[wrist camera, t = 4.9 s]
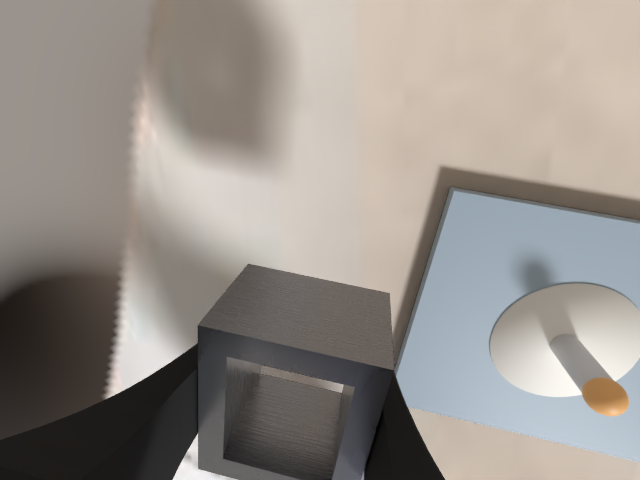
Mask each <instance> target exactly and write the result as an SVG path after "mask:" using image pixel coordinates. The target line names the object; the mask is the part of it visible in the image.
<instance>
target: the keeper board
mask: <svg viewBox="0 0 640 480" xmlns="http://www.w3.org/2000/svg"><path fill="white" fill-rule="evenodd" d="M394 372H395V375H396V378H397V381H398V384H399V387H400V389H401V392H402V395H403V397H404V400H405V402H406V405H407V407H411V408H415V409H419V410H423V411H428V412H432V413H436V414H440V415H444V416H448V417H453V418H457V419H461V420H465V421H469V422H473V423H478V424H482V425H486V426H490V427H494V428H498V429H503V430H507V431H511V432H515V433H519V434H523V435H527V436H532V437H536V438H540V439H544V440H548V441H552V442H557V443H561V444H565V445H569V446H573V447H577V448H582V449H586V450H590V451H594V452H598V453H602V454H607V455H611V456H615V457H619V458H623V459H627V460H631V461H636V462H640V220H636V219H630V218H624V217H619V216H613V215H607V214H602V213H596V212H590V211H585V210H579V209H573V208H568V207H562V206H556V205H551V204H545V203H539V202H534V201H528V200H522V199H517V198H511V197H505V196H500V195H494V194H488V193H483V192H477V191H471V190H466V189H460V188H454V187H450V190H449V193H448V197H447V200H446V203H445V206H444V210H443V213H442V216H441V219H440V223H439V226H438V229H437V232H436V236H435V239H434V242H433V245H432V249H431V252H430V255H429V259H428V262H427V265H426V268H425V272H424V275H423V278H422V281H421V285H420V288H419V291H418V294H417V298H416V301H415V304H414V307H413V311H412V314H411V317H410V321H409V324H408V327H407V330H406V334H405V337H404V340H403V343H402V347H401V350H400V353H399V356H398V360H397V363H396V366H395V370H394Z"/></svg>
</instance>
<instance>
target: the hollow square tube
mask: <svg viewBox="0 0 640 480" xmlns="http://www.w3.org/2000/svg"><path fill="white" fill-rule="evenodd" d="M261 365H264V366H268V367H273V368H277V369H281V370H285V371H289V372H294V373H298V374H302V375H306V376H310V377H315V378H319V379H323V380H327V381H332V382H336V383H340V384H344V386H343V391H342V393H339V392H335V391H330V390H326V389H322V388H318V387H314V386H310V385H305V384H301V383H297V382H293V381H289V380H285V379H280V378H276V377H272V376H268V375H264V374H260V371H261ZM393 373H394V358H393V341H392V325H391V308H390V293H386V292H381V291H376V290H371V289H366V288H362V287H357V286H352V285H347V284H342V283H338V282H333V281H328V280H323V279H318V278H314V277H309V276H304V275H299V274H294V273H290V272H285V271H280V270H275V269H270V268H266V267H261V266H256V265H251V264H248V265H247V266H246V267H245V268H244V270H243V271H242V272H241V273H240V275H239V276H238V277H237V278H236V279H235V281H234V282H233V283H232V284H231V285H230V287H229V288H228V289H227V290H226V292H225V293H224V294H223V295H222V296H221V298H220V299H219V300H218V301H217V302H216V304H215V305H214V306H213V307H212V309H211V310H210V311H209V312H208V313H207V315H206V316H205V317H204V318H203V319H202V321H201V322H200V323H199V324H198V469H201V470H205V471H208V472H212V473H216V474H219V475H223V476H227V477H230V478H234V479H238V480H361V478H362V475H363V471H364V468H365V465H366V462H367V458H368V455H369V452H370V448H371V445H372V442H373V439H374V435H375V432H376V429H377V425H378V422H379V419H380V416H381V412H382V409H383V406H384V402H385V399H386V396H387V393H388V389H389V386H390V383H391V379H392V376H393Z"/></svg>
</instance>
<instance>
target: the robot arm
mask: <svg viewBox="0 0 640 480" xmlns="http://www.w3.org/2000/svg"><path fill="white" fill-rule="evenodd" d="M197 434H198V343H197V344H196V345H195V346H193V347H192V348H191V349H189V350H188V351H186V352H185V353H183V354H182V355H181V356H179V357H178V358H176V359H175V360H173V361H172V362H171V363H169V364H168V365H166V366H164V367H163V368H161V369H160V370H158V371H156V372H155V373H153V374H152V375H150V376H149V377H147V378H145V379H144V380H142V381H140V382H138V383H137V384H135V385H133V386H131V387H129V388H128V389H126V390H124V391H122V392H120V393H118V394H116V395H114V396H112V397H110V398H108V399H106V400H103V401H101V402H99V403H97V404H95V405H93V406H91V407H88V408H86V409H84V410H82V411H79V412H77V413H74V414H72V415H70V416H67V417H65V418H62V419H59V420H57V421H54V422H52V423H49V424H47V425H43V426H41V427H38V428H35V429H32V430H29V431H26V432H23V433H20V434H17V435H14V436H11V437H8V438H5V439H2V440H0V480H172V479H173V477H174V475H175V473H176V471H177V469H178V467H179V465H180V463H181V461H182V459H183V458H184V456H185V454H186V452H187V450H188V449H189V447H190V445H191V444H192V442H193V440H194V439H195V437H196V435H197ZM361 480H445V478H444V477H443V475H442V473H441V472H440V470H439V468H438V467H437V465H436V463H435V462H434V460H433V458H432V456H431V454H430V453H429V451H428V449H427V447H426V445H425V443H424V441H423V439H422V437H421V435H420V433H419V431H418V429H417V427H416V425H415V423H414V420H413V418H412V416H411V414H410V412H409V409H408V407H407V405H406V402H405V400H404V397H403V395H402V392H401V389H400V387H399V384H398V381H397V378H396V375H395V372H394V373H393V376H392V379H391V383H390V386H389V389H388V393H387V396H386V399H385V402H384V406H383V409H382V412H381V416H380V419H379V422H378V425H377V429H376V432H375V435H374V439H373V442H372V445H371V448H370V452H369V455H368V458H367V462H366V465H365V468H364V471H363V475H362V478H361Z"/></svg>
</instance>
